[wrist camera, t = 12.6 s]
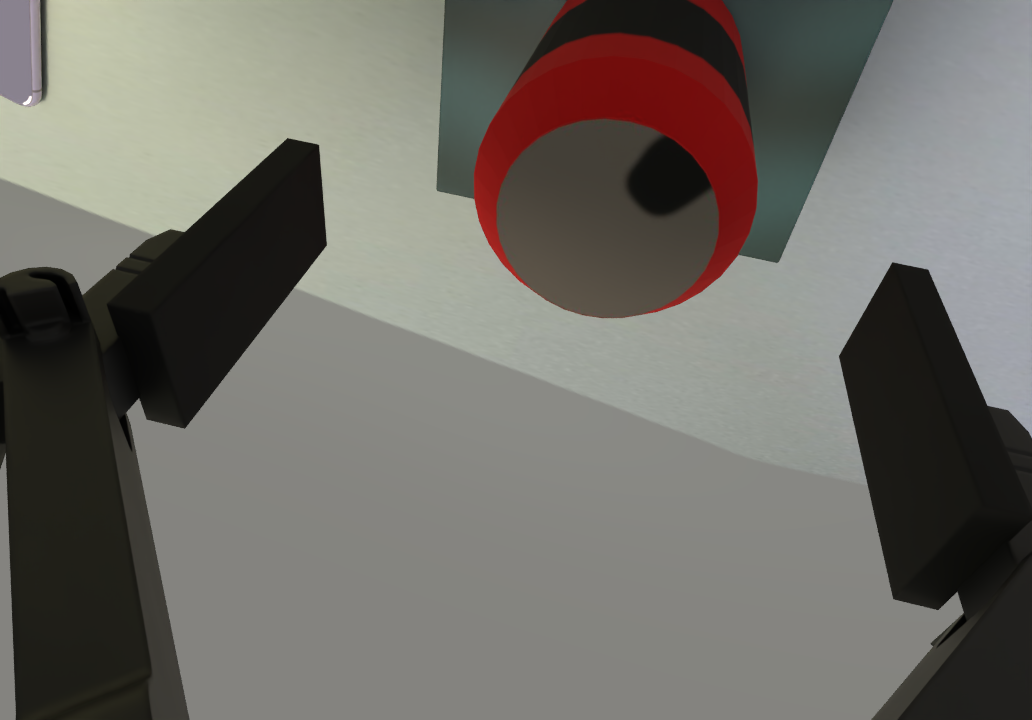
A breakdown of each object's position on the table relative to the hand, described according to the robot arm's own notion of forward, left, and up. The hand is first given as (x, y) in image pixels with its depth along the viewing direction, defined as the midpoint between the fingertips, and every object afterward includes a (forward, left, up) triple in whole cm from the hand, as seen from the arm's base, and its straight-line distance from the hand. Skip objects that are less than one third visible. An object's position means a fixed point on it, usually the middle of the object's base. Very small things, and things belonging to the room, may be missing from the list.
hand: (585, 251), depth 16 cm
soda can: (0, 0, -14) cm, 14 cm away
